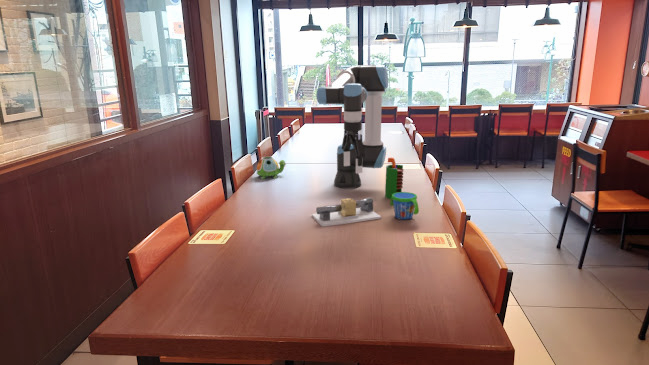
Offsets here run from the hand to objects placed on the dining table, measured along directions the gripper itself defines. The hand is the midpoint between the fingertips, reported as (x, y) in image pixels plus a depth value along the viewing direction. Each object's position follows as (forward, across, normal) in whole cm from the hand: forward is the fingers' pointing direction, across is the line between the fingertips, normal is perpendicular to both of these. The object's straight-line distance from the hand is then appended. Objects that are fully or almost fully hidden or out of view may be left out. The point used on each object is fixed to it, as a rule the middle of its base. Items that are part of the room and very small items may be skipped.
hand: (352, 169), depth 186 cm
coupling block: (+19, -6, +4) cm, 20 cm away
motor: (+21, +16, -29) cm, 39 cm away
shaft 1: (+20, -6, +13) cm, 25 cm away
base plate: (+20, -5, +5) cm, 21 cm away
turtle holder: (+22, +80, +20) cm, 86 cm away
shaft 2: (+20, -2, -4) cm, 21 cm away
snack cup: (+21, -14, -18) cm, 31 cm away
